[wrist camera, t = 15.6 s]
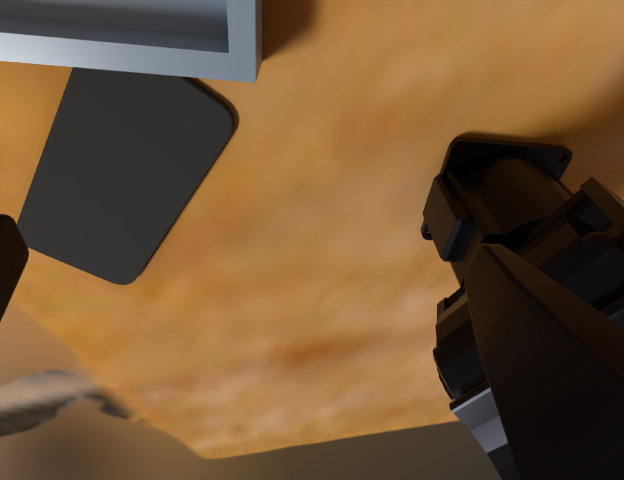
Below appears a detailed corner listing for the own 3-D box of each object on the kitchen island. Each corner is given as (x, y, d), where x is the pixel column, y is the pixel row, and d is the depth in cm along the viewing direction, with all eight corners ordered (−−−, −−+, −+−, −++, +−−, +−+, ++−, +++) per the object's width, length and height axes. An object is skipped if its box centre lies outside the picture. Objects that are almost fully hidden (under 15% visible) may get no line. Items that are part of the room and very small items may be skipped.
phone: (243, 119, 19) (129, 290, 26) (245, 112, 20) (133, 281, 27) (89, 15, 16) (9, 240, 23) (98, 11, 17) (17, 232, 24)
